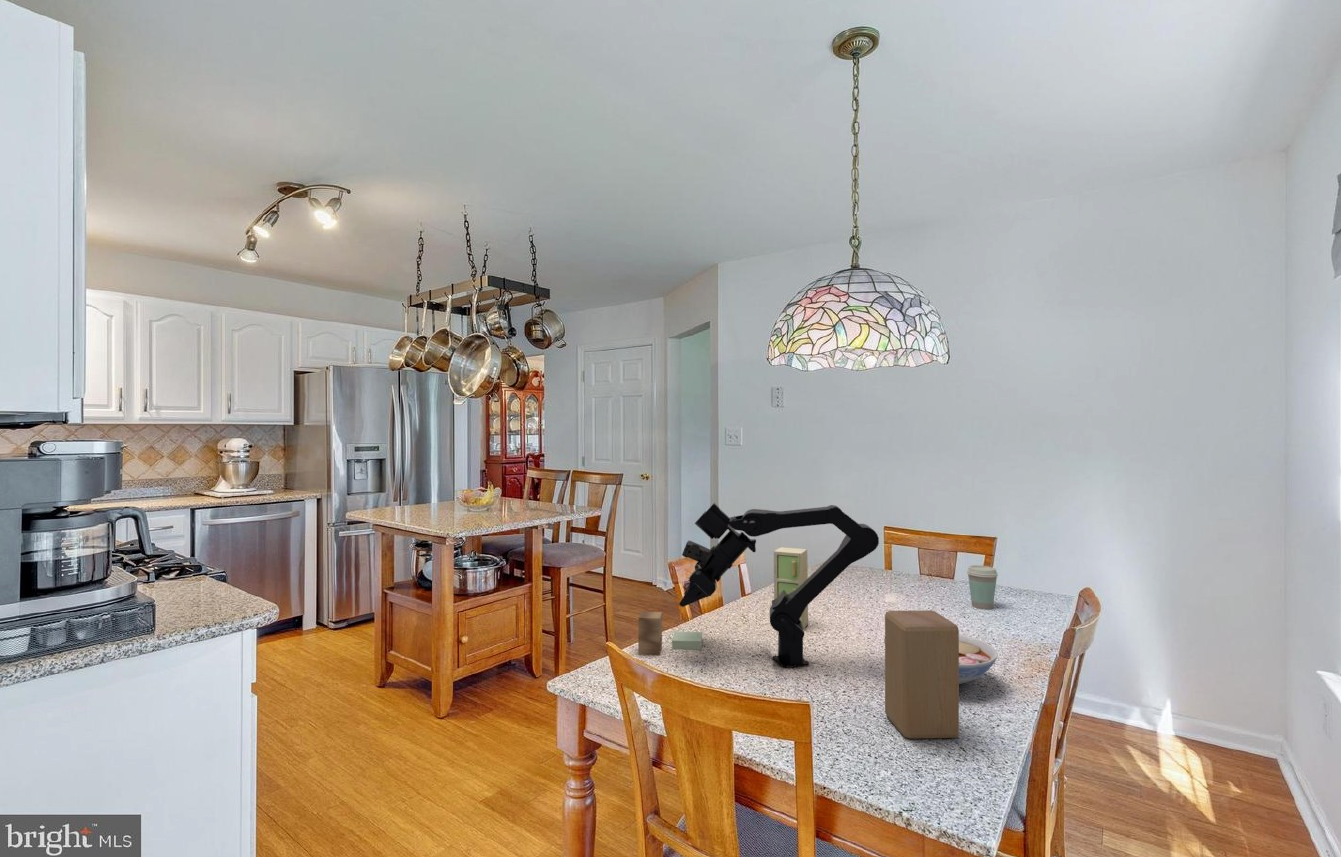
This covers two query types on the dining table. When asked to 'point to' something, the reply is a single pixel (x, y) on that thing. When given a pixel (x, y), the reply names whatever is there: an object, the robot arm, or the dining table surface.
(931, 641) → the wooden block
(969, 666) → the ramen bowl
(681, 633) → the sage top slab
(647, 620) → the walnut pillar
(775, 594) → the toy refrigerator
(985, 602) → the coffee cup
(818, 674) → the dining table surface
